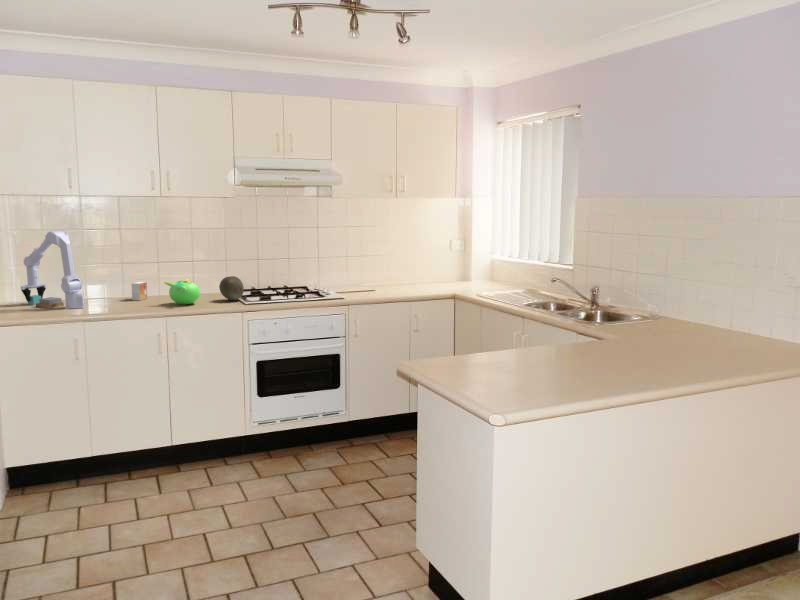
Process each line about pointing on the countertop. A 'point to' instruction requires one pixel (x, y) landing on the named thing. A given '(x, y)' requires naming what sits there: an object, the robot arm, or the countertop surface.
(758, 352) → the countertop surface
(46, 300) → the grey top slab
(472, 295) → the countertop surface
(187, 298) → the toy bird
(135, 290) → the small box
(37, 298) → the teal block
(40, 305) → the walnut base slab
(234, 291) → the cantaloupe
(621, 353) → the countertop surface
